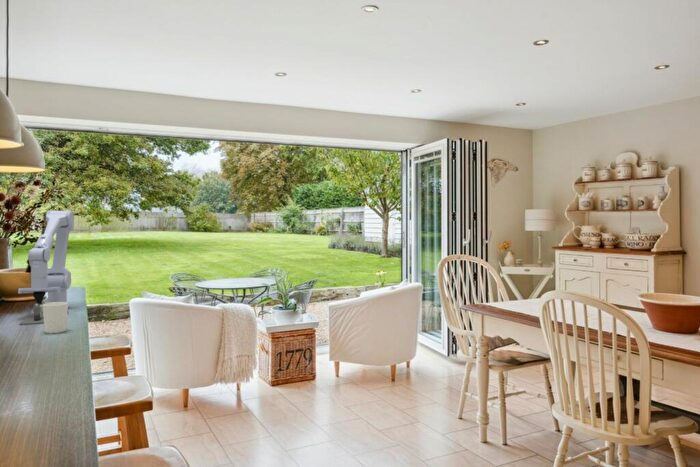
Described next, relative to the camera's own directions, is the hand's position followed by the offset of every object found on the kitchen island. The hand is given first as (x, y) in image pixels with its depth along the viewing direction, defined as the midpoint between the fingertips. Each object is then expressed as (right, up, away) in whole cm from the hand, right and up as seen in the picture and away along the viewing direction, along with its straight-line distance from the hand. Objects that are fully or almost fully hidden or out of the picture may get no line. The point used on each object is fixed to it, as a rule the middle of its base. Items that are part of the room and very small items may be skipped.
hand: (39, 310), depth 206 cm
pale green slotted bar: (+2, -2, 0) cm, 3 cm away
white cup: (+21, -4, -24) cm, 32 cm away
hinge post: (+4, -3, -8) cm, 10 cm away
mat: (+3, -3, -2) cm, 5 cm away
